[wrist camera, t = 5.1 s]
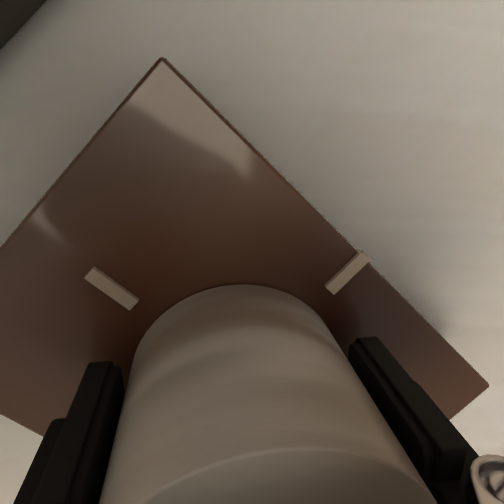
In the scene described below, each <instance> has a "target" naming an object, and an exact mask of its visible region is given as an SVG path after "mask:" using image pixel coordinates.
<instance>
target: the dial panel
mask: <svg viewBox="0 0 504 504" xmlns="http://www.w3.org/2000/svg"><path fill="white" fill-rule="evenodd" d="M370 260H371V259H370V258H369V257H368V256H367V255H366V254H365V253H364V252H363V251H362V250H360V251H359V252H357V251H356V250H355V249H354V248H353V247H352V246H351V245H350V244H349V243H348V242H347V241H346V240H345V239H344V238H343V237H342V236H341V234H340V233H339V232H338V231H337V230H336V229H335V228H334V227H333V226H332V225H331V224H330V223H329V222H328V221H327V220H326V219H325V218H324V217H323V216H322V215H321V214H320V213H319V212H318V211H317V210H316V209H315V208H314V207H313V206H312V205H311V204H310V203H309V202H308V201H307V200H306V199H305V198H304V197H303V196H302V195H301V194H300V193H299V192H298V191H297V190H296V189H295V188H294V187H293V186H292V185H291V184H290V183H289V182H288V181H287V180H286V179H285V178H284V177H283V176H282V175H281V174H280V173H279V172H278V171H277V170H276V169H275V168H274V167H273V166H272V165H271V164H270V163H269V162H268V161H267V160H266V159H265V158H264V157H263V156H262V155H261V154H260V153H259V152H258V151H257V150H256V149H255V148H254V147H253V146H252V145H251V144H250V143H249V142H248V141H247V140H246V139H245V138H244V137H243V136H242V135H241V134H240V133H239V132H238V131H237V130H236V129H235V128H234V127H233V126H232V125H231V124H230V123H229V122H228V121H227V120H226V119H225V118H224V117H223V116H222V115H221V114H220V113H219V112H218V111H217V110H216V109H215V108H214V107H213V106H212V105H211V104H210V103H209V102H208V101H207V100H206V99H205V98H204V97H203V96H202V95H201V94H200V93H199V92H198V91H197V90H196V89H195V88H194V87H193V86H192V85H191V84H190V83H189V82H188V81H187V80H186V79H185V78H184V77H183V76H182V75H181V74H180V73H179V71H178V70H177V69H176V68H175V67H174V66H173V65H172V64H171V63H170V62H169V61H168V60H167V59H166V58H164V57H161V58H159V59H158V60H157V61H156V62H155V64H154V65H153V66H152V67H151V68H150V70H149V71H148V72H147V73H146V74H145V76H144V77H143V78H142V79H141V80H140V82H139V83H138V84H137V85H136V86H135V87H134V89H133V90H132V91H131V92H130V93H129V95H128V96H127V97H126V98H125V99H124V101H123V102H122V103H121V104H120V105H119V106H118V108H117V109H116V110H115V111H114V112H113V114H112V115H111V116H110V117H109V118H108V120H107V121H106V122H105V123H104V124H103V126H102V127H101V128H100V129H99V130H98V131H97V133H96V134H95V135H94V136H93V137H92V139H91V140H90V141H89V142H88V143H87V145H86V146H85V147H84V148H83V149H82V151H81V152H80V153H79V154H78V155H77V156H76V158H75V159H74V160H73V161H72V162H71V164H70V165H69V166H68V167H67V168H66V170H65V171H64V172H63V173H62V174H61V176H60V177H59V178H58V179H57V180H56V181H55V183H54V184H53V185H52V186H51V187H50V189H49V190H48V191H47V192H46V193H45V195H44V196H43V197H42V198H41V199H40V200H39V202H38V203H37V204H36V205H35V206H34V208H33V209H32V210H31V211H30V212H29V214H28V215H27V216H26V217H25V218H24V220H23V221H22V222H21V223H20V224H19V225H18V227H17V228H16V229H15V230H14V231H13V233H12V234H11V235H10V236H9V237H8V239H7V240H6V241H5V242H4V243H3V245H2V246H1V247H0V414H1V415H3V416H5V417H7V418H9V419H11V420H13V421H15V422H17V423H18V424H20V425H22V426H24V427H26V428H28V429H30V430H32V431H34V432H35V433H37V434H39V435H41V436H43V437H44V435H45V433H46V431H47V429H48V427H49V425H50V423H51V422H52V421H53V420H54V419H59V418H66V416H67V414H68V411H69V409H70V406H71V404H72V402H73V399H74V397H75V394H76V392H77V389H78V387H79V385H80V382H81V380H82V377H83V375H84V373H85V370H86V368H87V365H88V364H89V363H90V362H101V361H112V362H113V365H114V366H119V365H120V367H121V370H122V377H123V384H124V390H125V392H126V387H127V383H128V379H129V375H130V371H131V366H132V363H133V359H134V355H135V352H136V350H137V348H138V346H139V343H140V341H141V340H142V338H143V337H144V335H145V333H146V332H147V330H148V329H149V328H150V327H151V326H152V324H153V323H154V322H155V321H156V320H157V319H158V318H159V317H160V316H161V315H162V314H164V313H165V312H166V311H167V310H168V309H170V308H171V307H173V306H174V305H176V304H177V303H178V302H180V301H182V300H184V299H186V298H188V297H190V296H192V295H194V294H197V293H199V292H202V291H205V290H208V289H212V288H216V287H220V286H227V285H242V284H250V285H259V286H265V287H270V288H274V289H278V290H280V291H283V292H285V293H288V294H290V295H292V296H294V297H296V298H298V299H299V300H301V301H303V302H304V303H305V304H307V305H308V306H309V307H311V308H312V309H313V310H314V311H315V312H316V313H317V314H318V315H319V316H320V318H321V319H322V321H323V322H324V323H325V325H326V326H327V328H328V329H329V331H330V332H331V334H332V336H333V337H334V339H335V340H336V342H337V344H338V345H339V347H340V348H341V350H342V352H343V353H344V355H345V356H346V358H347V360H348V351H349V345H350V344H353V343H354V342H355V339H356V338H362V337H373V336H376V337H378V338H379V339H380V340H381V342H382V343H383V344H384V345H385V347H386V348H387V349H388V350H389V351H390V353H391V354H392V355H393V356H394V357H395V359H396V360H397V361H398V362H399V364H400V365H401V366H402V367H403V368H404V370H405V371H406V372H407V373H408V375H409V376H410V377H411V378H412V379H413V381H416V382H417V383H418V384H419V385H420V386H421V387H422V388H423V389H424V391H425V392H426V393H427V394H428V395H429V397H430V398H431V399H432V400H433V401H434V403H435V404H436V405H437V406H438V408H439V409H440V410H441V411H442V412H443V414H444V415H445V416H446V417H447V418H448V420H450V419H451V418H453V417H454V416H455V415H456V414H457V413H459V412H460V411H461V410H462V409H463V408H464V407H466V406H467V405H468V404H469V403H470V402H472V401H473V400H474V399H475V398H476V397H478V396H479V395H480V394H481V393H482V392H483V391H485V390H486V389H487V388H488V387H489V384H488V382H487V381H486V380H485V379H484V378H483V377H482V376H481V375H480V374H479V373H478V372H477V371H476V370H475V369H474V368H473V367H472V366H471V365H470V364H469V363H468V362H467V361H466V360H465V359H464V358H463V357H462V356H461V355H460V354H459V353H458V352H457V351H456V350H455V349H454V348H453V347H452V346H451V345H450V344H449V343H448V342H447V341H446V340H445V339H444V338H443V337H442V336H441V335H440V334H439V333H438V332H437V331H436V330H435V329H434V328H433V327H432V326H431V325H430V324H429V323H428V322H427V321H426V320H425V319H424V318H423V317H422V316H421V315H420V314H419V313H418V312H417V311H416V310H415V309H414V308H413V307H412V306H411V305H410V304H409V303H408V302H407V301H406V300H405V299H404V298H403V297H402V296H401V295H400V294H399V293H398V292H397V291H396V290H395V289H394V288H393V287H392V286H391V285H390V284H389V283H388V282H387V281H386V280H385V279H384V278H383V277H382V276H381V275H380V274H379V273H378V272H377V271H376V270H375V269H374V268H373V267H372V266H371V265H370V264H369V263H368V262H369V261H370Z"/></svg>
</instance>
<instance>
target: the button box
mask: <svg viewBox="0 0 504 504" xmlns="http://www.w3.org/2000/svg"><path fill="white" fill-rule="evenodd" d="M45 1H46V0H0V48H1V47H2V46H3V45H4V44H5V43H6V42H7V41H8V40H9V39H10V38H11V37H12V36H13V35H14V34H15V32H16V31H17V30H18V29H19V28H20V27H21V26H22V25H23V24H24V23H25V22H26V21H27V20H28V19H29V18H30V17H31V16H32V15H33V13H34V12H35V11H36V10H37V9H38V8H39V7H40V6H41V5H42V4H43V3H44V2H45Z"/></svg>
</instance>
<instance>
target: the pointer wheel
mask: <svg viewBox="0 0 504 504" xmlns="http://www.w3.org/2000/svg"><path fill="white" fill-rule="evenodd" d="M99 504H437V502H436V500H435V499H434V497H433V495H432V494H431V492H430V491H429V489H428V487H427V486H426V484H425V483H424V481H423V479H422V478H421V476H420V475H419V473H418V471H417V470H416V468H415V467H414V465H413V463H412V462H411V460H410V459H409V457H408V455H407V454H406V452H405V451H404V449H403V447H402V446H401V444H400V443H399V441H398V439H397V438H396V436H395V435H394V433H393V431H392V430H391V428H390V427H389V425H388V423H387V422H386V420H385V419H384V417H383V415H382V414H381V412H380V411H379V409H378V407H377V406H376V404H375V403H374V401H373V400H372V398H371V396H370V395H369V393H368V392H367V390H366V388H365V387H364V385H363V384H362V382H361V380H360V379H359V377H358V376H357V374H356V372H355V371H354V369H353V368H352V366H351V364H350V363H349V361H348V360H347V358H346V356H345V355H344V353H343V352H342V350H341V348H340V347H339V345H338V344H337V342H336V340H335V339H334V337H333V336H332V334H331V332H330V331H329V329H328V328H327V326H326V325H325V323H324V322H323V321H322V319H321V318H320V316H319V315H318V314H317V313H316V312H315V311H314V310H313V309H312V308H311V307H309V306H308V305H307V304H305V303H304V302H303V301H301V300H299V299H298V298H296V297H294V296H292V295H290V294H288V293H285V292H283V291H280V290H278V289H274V288H270V287H265V286H259V285H250V284H242V285H227V286H220V287H216V288H212V289H208V290H205V291H202V292H199V293H197V294H194V295H192V296H190V297H188V298H186V299H184V300H182V301H180V302H178V303H177V304H176V305H174V306H173V307H171V308H170V309H168V310H167V311H166V312H165V313H164V314H162V315H161V316H160V317H159V318H158V319H157V320H156V321H155V322H154V323H153V324H152V326H151V327H150V328H149V329H148V330H147V332H146V333H145V335H144V337H143V338H142V340H141V341H140V343H139V346H138V348H137V350H136V352H135V355H134V359H133V363H132V366H131V371H130V375H129V379H128V383H127V387H126V392H125V396H124V400H123V404H122V408H121V412H120V417H119V421H118V425H117V429H116V433H115V437H114V442H113V446H112V450H111V454H110V458H109V463H108V467H107V471H106V475H105V479H104V483H103V488H102V492H101V496H100V500H99Z"/></svg>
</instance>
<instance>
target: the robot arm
mask: <svg viewBox="0 0 504 504" xmlns="http://www.w3.org/2000/svg"><path fill="white" fill-rule="evenodd" d="M348 361H349V363H350V364H351V366H352V368H353V369H354V371H355V372H356V374H357V376H358V377H359V379H360V380H361V382H362V384H363V385H364V387H365V388H366V390H367V392H368V393H369V395H370V396H371V398H372V400H373V401H374V403H375V404H376V406H377V407H378V409H379V411H380V412H381V414H382V415H383V417H384V419H385V420H386V422H387V423H388V425H389V427H390V428H391V430H392V431H393V433H394V435H395V436H396V438H397V439H398V441H399V443H400V444H401V446H402V447H403V449H404V451H405V452H406V454H407V455H408V457H409V459H410V460H411V462H412V463H413V465H414V467H415V468H416V470H417V471H418V473H419V475H420V476H421V478H422V479H423V481H424V483H425V484H426V486H427V487H428V489H429V491H430V492H431V494H432V495H433V497H434V499H435V500H436V502H437V504H504V457H503V456H500V455H484V456H478V454H477V453H476V452H475V451H474V450H473V448H472V447H471V446H470V445H469V444H468V442H467V441H466V440H465V439H464V438H463V436H462V435H461V434H460V433H459V432H458V430H457V429H456V428H455V427H454V426H453V424H452V423H451V422H450V421H449V420H448V418H447V417H446V416H445V415H444V414H443V412H442V411H441V410H440V409H439V408H438V406H437V405H436V404H435V403H434V401H433V400H432V399H431V398H430V397H429V395H428V394H427V393H426V392H425V391H424V389H423V388H422V387H421V386H420V385H419V384H418V383H417V382H416V381H413V379H412V378H411V377H410V376H409V375H408V373H407V372H406V371H405V370H404V368H403V367H402V366H401V365H400V364H399V362H398V361H397V360H396V359H395V357H394V356H393V355H392V354H391V353H390V351H389V350H388V349H387V348H386V347H385V345H384V344H383V343H382V342H381V340H380V339H379V338H378V337H376V336H373V337H362V338H356V339H355V342H354V343H353V344H350V345H349V351H348ZM124 396H125V390H124V384H123V377H122V370H121V367H120V365H119V366H114V365H113V362H112V361H101V362H90V363H89V364H88V365H87V368H86V370H85V373H84V375H83V377H82V380H81V382H80V385H79V387H78V389H77V392H76V394H75V397H74V399H73V402H72V404H71V406H70V409H69V411H68V414H67V416H66V418H59V419H54V420H53V421H52V422H51V423H50V425H49V427H48V429H47V431H46V433H45V435H44V438H43V440H42V442H41V444H40V446H39V449H38V451H37V453H36V455H35V457H34V460H33V462H32V464H31V466H30V468H29V470H28V473H27V475H26V477H25V479H24V481H23V484H22V486H21V488H20V490H19V492H18V495H17V497H16V499H15V501H14V503H13V504H99V500H100V496H101V492H102V488H103V483H104V479H105V475H106V471H107V467H108V463H109V458H110V454H111V450H112V446H113V442H114V437H115V433H116V429H117V425H118V421H119V417H120V412H121V408H122V404H123V400H124Z"/></svg>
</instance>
